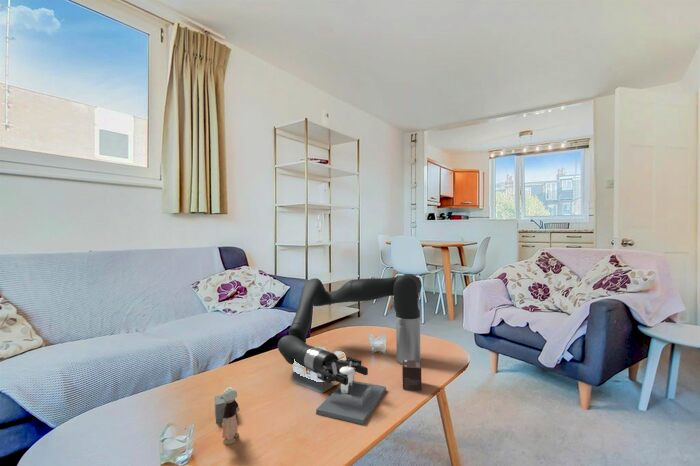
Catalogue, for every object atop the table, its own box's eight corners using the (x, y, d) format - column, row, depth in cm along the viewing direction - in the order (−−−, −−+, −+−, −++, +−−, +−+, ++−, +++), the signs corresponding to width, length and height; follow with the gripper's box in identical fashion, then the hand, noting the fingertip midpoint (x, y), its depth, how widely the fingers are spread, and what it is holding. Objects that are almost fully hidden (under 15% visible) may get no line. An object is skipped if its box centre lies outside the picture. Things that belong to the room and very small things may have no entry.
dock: (345, 382, 111) (345, 371, 111) (385, 390, 105) (385, 378, 105) (316, 413, 92) (316, 400, 92) (363, 424, 87) (362, 410, 87)
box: (421, 391, 104) (421, 368, 104) (402, 389, 105) (402, 366, 105) (421, 382, 110) (421, 360, 110) (403, 381, 111) (402, 359, 111)
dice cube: (233, 409, 95) (233, 392, 95) (235, 418, 91) (235, 400, 91) (215, 414, 93) (214, 396, 93) (216, 423, 89) (215, 404, 89)
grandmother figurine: (226, 430, 85) (225, 381, 85) (242, 429, 85) (241, 380, 85) (217, 450, 77) (216, 396, 77) (234, 449, 78) (233, 395, 78)
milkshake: (356, 396, 100) (358, 362, 100) (350, 403, 95) (352, 367, 95) (342, 393, 101) (344, 359, 102) (335, 400, 96) (337, 365, 97)
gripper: (303, 356, 103) (340, 371, 92) (336, 344, 114) (372, 356, 102) (303, 380, 103) (340, 398, 92) (336, 366, 114) (373, 380, 103)
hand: (357, 376), depth 97 cm, fingers open, 8 cm apart
